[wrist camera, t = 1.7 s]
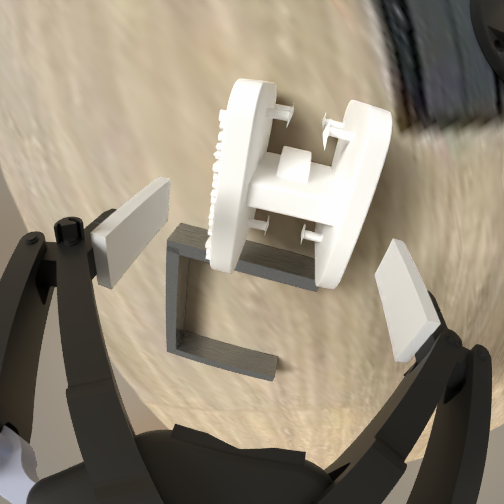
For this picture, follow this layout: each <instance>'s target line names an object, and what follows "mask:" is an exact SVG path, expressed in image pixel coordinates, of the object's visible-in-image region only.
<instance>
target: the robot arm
mask: <svg viewBox="0 0 504 504" xmlns="http://www.w3.org/2000/svg"><path fill="white" fill-rule="evenodd" d="M470 13H471V19H472V24H473V28H474V31H475V34H476V37H477V40H478V42H479V44H480V47H481V49H482V51H483V53H484V55H485V57H486V58H487V60H488V62H489V63H490V65H491V67H492V68H493V70H494V71H495V72H496V74H497V75H498V76H499V77H500V79H501V80H502V81H503V82H504V0H470ZM170 183H171V179H169V178H164V177H158V178H156V179H155V180H154V181H152V182H151V183H150V184H148V185H147V186H146V187H144V188H143V189H142V190H141V191H139V192H138V193H137V194H136V195H134V196H133V197H132V198H131V199H129V200H128V201H127V202H126V203H124V204H123V205H122V206H121V207H120V208H118V209H110V210H108V211H106V212H104V213H102V214H101V215H100V216H99V217H98V218H96V219H95V220H94V221H93V222H92V223H91V224H89V225H88V226H87V227H86V228H85V229H84V227H83V222H82V220H81V219H80V218H78V217H66V218H63V219H61V220H59V221H58V222H57V223H55V225H54V231H55V237H56V242H46V241H45V236H44V234H43V233H41V232H37V231H36V232H30V233H27V234H26V235H24V236H23V237H22V238H21V240H20V241H19V243H18V245H17V247H16V249H15V251H14V253H13V255H12V257H11V259H10V261H9V263H8V265H7V267H6V269H5V271H4V273H3V275H2V278H1V280H0V495H1V496H2V497H3V498H5V499H6V500H8V501H9V502H11V503H12V504H381V503H382V502H383V501H384V500H385V498H386V497H387V495H388V494H389V493H390V491H391V490H392V489H393V487H394V486H395V485H396V483H397V482H398V481H399V479H400V478H401V476H402V475H403V474H404V472H405V470H406V468H407V464H405V463H404V461H405V459H406V457H407V456H408V454H409V453H410V451H411V450H412V448H413V447H414V445H415V443H416V442H417V440H418V438H419V437H420V435H421V433H422V432H423V430H424V428H425V426H426V425H427V423H428V421H429V419H430V417H431V415H432V414H433V412H434V410H435V408H436V406H437V409H436V414H435V418H434V422H433V426H432V430H431V434H430V438H429V441H428V445H427V448H426V451H425V454H424V458H423V461H422V464H421V467H420V470H419V473H418V475H417V478H416V481H415V483H414V486H413V489H412V491H411V494H410V496H409V498H408V501H407V503H406V504H476V502H477V498H478V494H479V490H480V486H481V482H482V477H483V472H484V467H485V461H486V455H487V448H488V440H489V431H490V419H491V402H492V363H491V356H490V354H489V352H488V350H487V349H486V348H484V347H483V346H482V345H479V344H476V345H475V346H474V347H473V348H472V349H471V350H469V349H467V348H465V347H463V346H462V341H461V339H460V337H459V336H458V335H457V334H456V333H455V332H454V331H452V330H450V329H448V328H447V326H446V323H445V321H444V318H443V316H442V313H441V312H440V309H439V307H438V304H437V302H436V299H435V298H434V296H433V295H432V294H431V292H430V291H428V290H427V289H426V287H425V285H424V282H423V280H422V278H421V276H420V274H419V272H418V269H417V267H416V265H415V263H414V261H413V259H412V257H411V255H410V253H409V251H408V249H407V247H406V245H405V243H404V242H403V241H400V240H397V239H394V238H393V239H392V241H391V243H390V245H389V247H388V250H387V252H386V254H385V256H384V257H383V259H382V261H381V263H380V265H379V267H378V269H377V271H376V273H375V279H376V283H377V286H378V290H379V294H380V298H381V301H382V305H383V309H384V313H385V318H386V322H387V326H388V331H389V335H390V340H391V345H392V349H393V354H394V360H395V361H397V362H404V363H408V362H409V361H410V360H411V359H412V357H413V356H414V355H415V357H416V362H415V363H414V365H413V366H412V367H411V368H410V369H409V370H408V371H407V372H406V373H405V374H404V376H405V377H404V379H403V380H402V382H401V383H400V384H399V386H398V387H397V389H396V390H395V391H394V393H393V394H392V396H391V397H390V398H389V400H388V401H387V402H386V403H385V405H384V406H383V407H382V409H381V410H380V411H379V412H378V414H377V415H376V416H375V417H374V419H373V420H372V421H371V422H370V423H369V425H368V426H367V427H366V428H365V429H364V431H363V432H362V433H361V434H360V435H359V436H358V437H357V439H356V440H355V441H354V442H353V443H352V444H351V445H350V446H349V447H348V448H347V449H346V451H345V452H344V453H343V454H342V455H341V456H340V457H339V458H338V459H337V460H336V461H335V462H334V463H332V464H331V465H330V466H329V467H327V468H326V469H325V470H323V469H321V468H320V467H319V466H317V465H316V464H314V463H312V462H310V461H308V460H305V454H306V452H301V451H293V450H286V449H279V448H263V449H238V448H236V447H234V446H231V445H229V444H227V443H225V442H223V441H221V440H219V439H217V438H215V437H213V436H212V435H210V434H208V433H205V432H201V431H198V430H194V429H191V428H187V427H184V426H181V425H178V424H175V425H174V428H173V430H155V431H149V432H145V433H141V434H139V435H135V432H134V430H133V427H132V425H131V423H130V420H129V418H128V415H127V413H126V410H125V407H124V404H123V402H122V398H121V395H120V393H119V390H118V386H117V384H116V380H115V377H114V374H113V370H112V367H111V363H110V360H109V356H108V353H107V349H106V345H105V341H104V337H103V333H102V329H101V324H100V320H99V315H98V311H97V306H96V301H95V295H94V290H93V284H92V279H93V278H94V277H95V276H96V275H97V281H98V285H101V286H104V287H106V288H109V289H113V287H114V286H115V285H116V283H117V282H118V281H119V280H120V278H121V277H122V276H123V274H124V273H125V272H126V271H127V269H128V268H129V267H130V266H131V264H132V263H133V262H134V261H135V259H136V258H137V257H138V256H139V254H140V253H141V252H142V251H143V249H144V248H145V247H146V246H147V245H148V243H149V242H150V241H151V240H152V239H153V237H154V236H155V235H156V234H157V233H158V232H159V230H160V229H161V228H162V227H163V226H164V225H165V223H166V222H167V221H168V210H169V196H170ZM55 287H57V296H58V297H57V298H58V313H59V325H60V335H61V343H62V351H63V357H64V363H65V370H66V376H67V381H68V388H67V389H66V397H67V403H68V407H69V411H70V415H71V420H72V423H73V427H74V431H75V435H76V438H77V441H78V445H79V448H80V451H81V454H82V457H83V460H84V462H82V463H79V464H77V465H75V466H73V467H70V468H68V469H66V470H63V471H61V472H59V473H56V474H54V475H51V476H49V477H46V478H44V479H41V480H39V478H38V476H37V473H36V467H37V461H36V457H35V453H34V451H33V448H32V447H31V446H30V438H31V432H32V423H33V408H34V395H35V386H36V377H37V370H38V362H39V356H40V350H41V344H42V339H43V334H44V329H45V324H46V320H47V315H48V311H49V307H50V303H51V299H52V295H53V291H54V288H55ZM437 404H438V405H437Z"/></svg>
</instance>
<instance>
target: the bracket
mask: <svg viewBox="0 0 504 504" xmlns="http://www.w3.org/2000/svg"><path fill="white" fill-rule="evenodd" d="M209 237H210V235H208V230H206V229H202V228H198V227H195V226H191V225H187V224H183V223H180V224H179V226H178V227H177V228H176V229H175V231H174V232H173V233H172V234H171V236H170V237H169V238H168V239H167V256H166V338H167V352H170V353H173V354H176V355H179V356H182V357H185V358H188V359H191V360H194V361H197V362H201V363H204V364H207V365H211V366H214V367H217V368H221V369H225V370H228V371H232V372H236V373H239V374H243V375H247V376H251V377H255V378H259V379H264V380H268V381H273V379H274V377H275V372H276V366H277V359H278V356H274V355H269V354H265V353H261V352H257V351H253V350H249V349H246V348H242V347H238V346H234V345H231V344H227V343H224V342H220V341H217V340H213V339H210V338H206V337H203V336H200V335H197V334H193V333H190V332H187V331H184V326H185V308H186V292H187V279H188V266H189V258H193V259H196V260H200V261H203V262H207V263H210V260H208V259H206V254H207V253H206V251H207V250H206V249H207V248H205V244H206V242H207V240H208V238H209ZM234 270H236V271H239V272H243V273H247V274H250V275H254V276H258V277H261V278H265V279H269V280H273V281H276V282H280V283H284V284H288V285H292V286H295V287H299V288H303V289H307V290H311V291H315V292H317V290H318V288H319V287H318V286H316V284H315V259H314V258H310V257H307V256H303V255H299V254H296V253H292V252H288V251H285V250H281V249H277V248H274V247H270V246H266V245H262V244H259V243H255V242H251V241H247V240H246V241H245V244H244V246H243V249H242V251H241V254H240V257H239V259H238V262H237V265H236V267H235V269H234Z"/></svg>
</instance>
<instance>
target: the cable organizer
mask: <svg viewBox="0 0 504 504" xmlns="http://www.w3.org/2000/svg"><path fill="white" fill-rule="evenodd" d="M276 97H277V86H276V83H273V82H267V81H261V80H252V79H241V78H240V79H238V80H237V81H236V83H235V85H234V87H233V89H232V91H231V94H230V98H229V102H228V106H227V110H220V115H219V121H221V123H220V129H222V130H224V131H221V132H220V133H219V135H218V140H219V141H222V142H221V143H218V144H217V146H216V148H217V150H218V151H216V152H215V153H214V155H216V159H219V160H218V161H217V162H216V163H215V164H214V165H213V172H215V173H214V177H213V180H214V181H213V185H212V187H213V188H215V189H214V190H212V193H211V194H210V195H211V196H212V198H211V203H212V206H211V208H210V215H209V217H208V219H210V220H209V226H210V228H209V229H208V235H210V237H209V238H208V240H207V242H206V244H205V248H207V249H206V250H207V251H206V253H207V254H206V259H208V260H210V266H211V268H212V269H214V270H218V271H222V272H226V273H232V272H233V271H234V269H235V267H236V265H237V262H238V259H239V257H240V254H241V251H242V249H243V246H244V244H245V241H246V238H247V236H248V233H249V230H250V228H255V229H260V230H264V231H265V233H266V231H267V228H268V226H269V216H268V221H267V222H265V221H260V220H256V219H254V216H255V212H256V208H258V209H262V210H267V211H271V212H275V213H280V214H284V215H288V216H293V217H297V218H301V219H305V220H309V221H314V222H316V225H315V232H312V231H307V230H305V226H306V225H305V223H304V226H303V229H302V232H301V243H302V239H307V240H311V241H315V284H316V286H318V287H323V288H327V289H332V290H333V289H335V288H336V287H337V286H338V284H339V282H340V281H341V279H342V276H343V274H344V272H345V269H346V267H347V265H348V262H349V260H350V257H351V255H352V252H353V250H354V247H355V245H356V242H357V240H358V237H359V234H360V232H361V229H362V226H363V224H364V221H365V218H366V216H367V213H368V210H369V207H370V205H371V202H372V199H373V196H374V193H375V190H376V187H377V184H378V181H379V178H380V175H381V172H382V169H383V166H384V162H385V159H386V156H387V153H388V149H389V145H390V141H391V135H392V116H391V113H390V112H389V111H386V110H383V109H381V108H378V107H375V106H372V105H369V104H366V103H363V102H360V101H356V100H351V101H350V102H349V104H348V106H347V109H346V112H345V115H344V119H343V122H342V123H341V122H337V121H333V120H331V119H326V118H325V117H326V113H325V116H324V118H323V120H322V127H324V126H326V128H325V130H324V132H323V146H324V150H325V146H326V142H327V138H328V136H332V137H336V138H339V139H338V143H337V146H336V150H335V154H334V158H333V162H332V166H331V167H330V166H326V165H322V164H318V163H314V162H311V152H309V151H305V150H301V149H297V148H292V147H288V146H284V147H283V150H282V154H281V155H280V154H275V153H270V152H267V148H268V143H269V137H270V132H271V127H272V121H273V118H275V119H280V120H285V121H288V122H287V126H288V124H289V122H290V119H291V117H292V115H293V113H294V104H293V107H290V106H285V105H280V104H276ZM286 128H287V127H286ZM264 236H265V234H264Z"/></svg>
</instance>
